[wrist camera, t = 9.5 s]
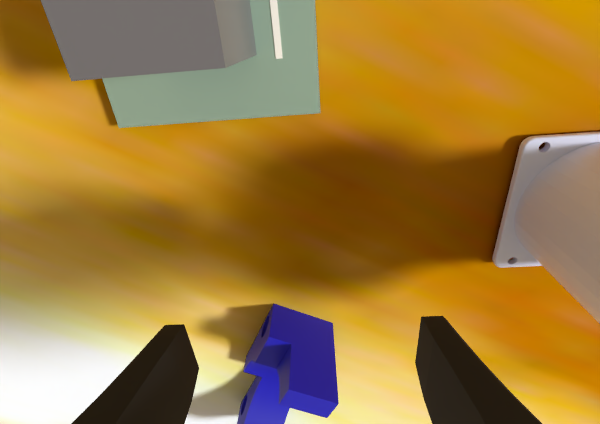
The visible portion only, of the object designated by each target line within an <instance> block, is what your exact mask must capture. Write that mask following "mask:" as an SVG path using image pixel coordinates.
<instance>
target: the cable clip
mask: <svg viewBox="0 0 600 424" xmlns="http://www.w3.org/2000/svg"><path fill="white" fill-rule="evenodd" d="M243 372H246V373H249V374H253V375H256V378H255V380H254V381H253V383H252V385H251V387H250V388H249V390H248V392H247V394H246V396H245V397H244V399H243V401H242V403H241V406H240V412H239V417H238V422H237V424H284V422H285V419H286V416H287V413H288V411H289V408H293V409H297V410H300V411H304V412H308V413H311V414H315V415H318V416H322V417H326V418H327V417H328V416H329V415H330V414H331V412H332V411H333V410H334V409H335V407H336V406H337V405H338V391H337V377H336V363H335V349H334V335H333V323H331V322H328V321H325V320H322V319H319V318H316V317H313V316H310V315H307V314H304V313H301V312H298V311H295V310H292V309H289V308H286V307H283V306H280V305H276V304H273V306H272V308H271V310H270V312H269V313H268V315H267V317H266V319H265V321H264V323H263V325H262V327H261V329H260V331H259V333H258V335H257V337H256V339H255V341H254V343H253V344H252V346H251V348H250V350H249V352H248V354H247V356H246V361H245V366H244V371H243Z"/></svg>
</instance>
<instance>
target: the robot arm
mask: <svg viewBox="0 0 600 424" xmlns="http://www.w3.org/2000/svg"><path fill="white" fill-rule="evenodd" d="M544 142H545V146H544V147H543V148H542V149H540V150H539V146H540V145H541V144H542V143H544ZM510 258H513V259H511V260H509V259H510ZM492 261H493V262H494V264H495V265H496V266H497V267H525V266H543V267H544V268H545V269H546V270H547V271H548V272H549V273H550V274H551V275H552V276H553V277H554V278H555V279H556V280H557V281H558V282H559V283H560V284H561V285H562V286H563V287H564V288H565V289H566V290H567V291H568V292H569V293H570V294H571V295H572V296H573V297H574V298H575V299H576V300H577V301H578V302H579V303H580V304H581V305H582V306H583V307H584V308H585V309H586V310H587V311H588V312H589V313H590V314H591V315H592V316H593V317H594V318H595V320H596V321H597V322H598V323H599V324H600V132H585V133H570V134H555V135H540V136H530V137H527V138H526V139H524V140H523V141H522V143H521V145H520V147H519V151H518V155H517V159H516V164H515V168H514V172H513V176H512V180H511V184H510V188H509V192H508V196H507V200H506V205H505V209H504V213H503V217H502V221H501V225H500V229H499V233H498V237H497V242H496V246H495V250H494V254H493V258H492ZM415 363H416V368H417V372H418V376H419V381H420V385H421V389H422V393H423V397H424V401H425V403H426V406H427V409H428V412H429V415H430V418H431V421H432V424H542V423H541V422H540V421H539V420H538V419H537V418H536V417H535V416H534V415H533V414H532V413H531V412H530V411H529V410H528V409H527V408H526V407H525V406H524V405H523V404H522V403H521V402H520V401H519V400H518V399H517V398H516V397H515V396H514V395H513V394H512V393H511V392H510V391H509V390H508V389H507V388H506V387H505V386H504V384H503V383H502V382H501V381H500V380H499V379H498V378H497V377H496V376H495V375H494V374H493V373H492V372H491V371H490V369H489V368H488V367H487V366H486V365H485V364H484V363H483V362H482V361H481V360H480V358H479V357H478V356H477V355H476V354H475V353H474V352H473V350H472V349H471V348H470V347H469V346H468V345H467V344H466V342H465V341H464V340H463V339H462V338H461V336H460V335H459V334H458V333H457V332H456V331H455V329H454V328H453V327H452V326H451V325H450V323H449V322H448V321H447V320H446V319H445V318H444V317H443V316H429V317H421V324H420V331H419V339H418V346H417V354H416V362H415ZM198 370H199V367H198V364H197V361H196V358H195V355H194V352H193V349H192V346H191V343H190V340H189V337H188V334H187V332H186V329H185V326H184V325H165V326H164V327H163V328H162V329H161V330H160V331H159V332H158V333H157V334H156V335H155V336H154V338H153V339H152V340H151V341H150V342H149V343H148V344H147V345H146V346H145V347H144V349H143V350H142V351H141V352H140V353H139V354H138V355H137V356H136V357H135V358H134V360H133V361H132V362H131V363H130V364H129V365H128V366H127V367H126V368H125V369H124V370H123V371H122V373H121V374H120V375H119V376H118V377H117V378H116V379H115V380H114V381H113V382H112V383H111V384H110V385H109V386H108V387H107V388H106V390H105V391H104V392H103V393H102V394H101V395H100V396H99V397H98V398H97V399H96V400H95V401H94V402H93V403H92V404H91V405H90V406H89V407H88V408H87V409H86V410H85V411H84V412H83V413H82V414H81V415H80V416H79V417H78V418H77V419H76V420H75V421H74V422H73V423H72V424H184V423H185V420H186V417H187V414H188V411H189V408H190V405H191V401H192V397H193V393H194V389H195V384H196V380H197V375H198Z"/></svg>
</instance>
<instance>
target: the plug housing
mask: <svg viewBox="0 0 600 424" xmlns="http://www.w3.org/2000/svg"><path fill="white" fill-rule="evenodd" d="M41 2H42V5H43V8H44V10H45V13H46V16H47V18H48V21H49V23H50V26H51V29H52V31H53V34H54V36H55V39H56V42H57V44H58V47H59V50H60V52H61V55H62V57H63V60H64V63H65V65H66V68H67V71H68V73H69V76H70V78H71V81H77V80H89V79H101V78H113V77H125V76H137V75H149V74H161V73H173V72H185V71H196V70H208V69H220V68H227V67H229V66H232V65H234V64H236V63H239V62H241V61H244V60H246V59H248V58H251V57H253V56H256V55H257V54H256V46H255V38H254V30H253V23H252V15H251V7H250V0H41Z"/></svg>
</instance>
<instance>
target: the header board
mask: <svg viewBox="0 0 600 424" xmlns="http://www.w3.org/2000/svg"><path fill="white" fill-rule="evenodd" d="M250 7H251V15H252V23H253V30H254V38H255V46H256V54H257V55H256V56H253V57H251V58H248V59H246V60H244V61H241V62H239V63H236V64H234V65H232V66H229V67H227V68H220V69H208V70H196V71H185V72H173V73H161V74H149V75H137V76H125V77H113V78H102V80H103V83H104V86H105V88H106V91H107V94H108V97H109V100H110V103H111V106H112V109H113V112H114V115H115V118H116V121H117V124H118V127H119V128H124V127H137V126H151V125H165V124H178V123H192V122H205V121H219V120H233V119H246V118H260V117H273V116H287V115H301V114H314V113H320V96H319V75H318V54H317V34H316V13H315V0H250Z"/></svg>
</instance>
